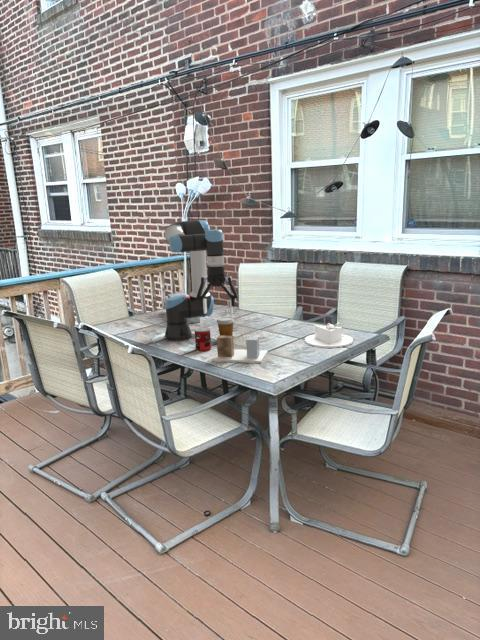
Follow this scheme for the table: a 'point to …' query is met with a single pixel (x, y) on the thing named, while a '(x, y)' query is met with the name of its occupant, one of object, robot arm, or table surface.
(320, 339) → the dish
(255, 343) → the grey block
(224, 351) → the walnut block
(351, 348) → the table surface
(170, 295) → the soda pack
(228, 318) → the disposable coffee cup
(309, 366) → the table surface
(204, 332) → the canned food
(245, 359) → the board
